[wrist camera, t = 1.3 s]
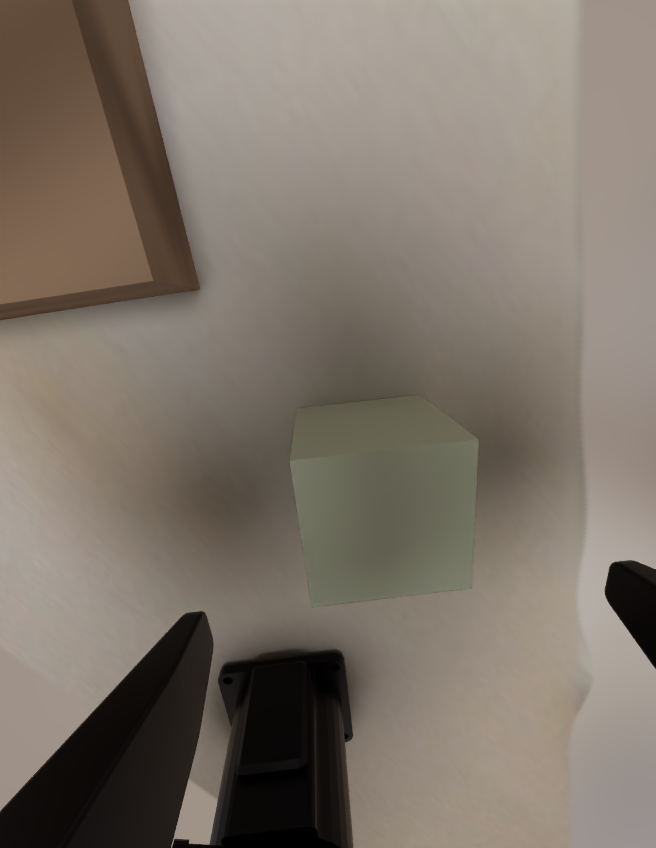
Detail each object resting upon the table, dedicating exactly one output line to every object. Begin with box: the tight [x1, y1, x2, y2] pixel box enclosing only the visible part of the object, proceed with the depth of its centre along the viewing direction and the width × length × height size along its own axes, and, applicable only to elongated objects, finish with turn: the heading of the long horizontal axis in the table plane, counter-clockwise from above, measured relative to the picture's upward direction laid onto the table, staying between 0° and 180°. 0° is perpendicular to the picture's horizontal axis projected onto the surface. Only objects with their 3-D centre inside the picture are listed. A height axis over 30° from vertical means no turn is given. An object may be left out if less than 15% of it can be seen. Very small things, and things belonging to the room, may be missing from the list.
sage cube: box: [289, 395, 479, 607], centre depth 12 cm, size 5×5×5 cm
